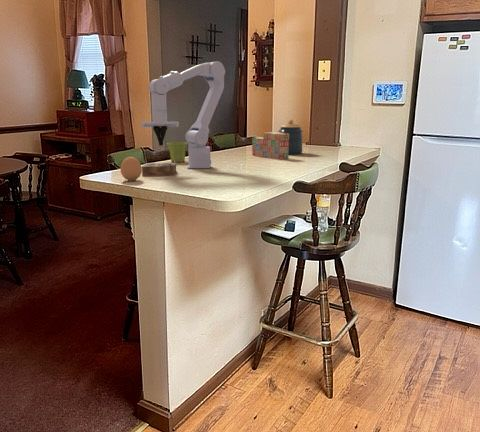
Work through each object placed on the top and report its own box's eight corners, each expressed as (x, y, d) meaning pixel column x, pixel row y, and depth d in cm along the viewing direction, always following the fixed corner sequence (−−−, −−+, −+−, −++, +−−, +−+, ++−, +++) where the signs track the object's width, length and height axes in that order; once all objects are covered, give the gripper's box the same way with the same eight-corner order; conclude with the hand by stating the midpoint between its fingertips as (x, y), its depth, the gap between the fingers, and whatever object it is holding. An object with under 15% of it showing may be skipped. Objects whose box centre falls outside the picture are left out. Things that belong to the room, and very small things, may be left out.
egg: (123, 183, 164) (121, 158, 162) (119, 179, 170) (118, 156, 168) (144, 181, 167) (143, 157, 165) (139, 178, 173) (138, 155, 171)
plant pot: (163, 162, 217) (162, 143, 215) (174, 160, 225) (173, 141, 223) (181, 163, 213) (181, 144, 211) (191, 160, 222) (190, 142, 220)
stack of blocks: (251, 155, 242) (251, 131, 239) (261, 155, 246) (261, 131, 243) (279, 159, 225) (279, 133, 222) (288, 158, 229) (289, 133, 226)
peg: (170, 171, 186) (170, 162, 186) (169, 173, 182) (169, 164, 182) (160, 171, 186) (159, 162, 185) (159, 173, 182) (158, 164, 181)
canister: (303, 154, 244) (304, 120, 240) (278, 154, 245) (279, 120, 240) (301, 152, 257) (301, 119, 253) (277, 152, 257) (277, 119, 253)
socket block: (176, 171, 189) (175, 162, 189) (174, 175, 180) (173, 165, 179) (146, 171, 189) (145, 162, 188) (142, 175, 179) (141, 166, 178)
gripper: (178, 110, 191) (179, 144, 194) (142, 110, 190) (144, 144, 193) (177, 110, 184) (178, 145, 187) (139, 111, 183) (141, 146, 186)
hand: (161, 145), depth 190 cm, fingers closed
